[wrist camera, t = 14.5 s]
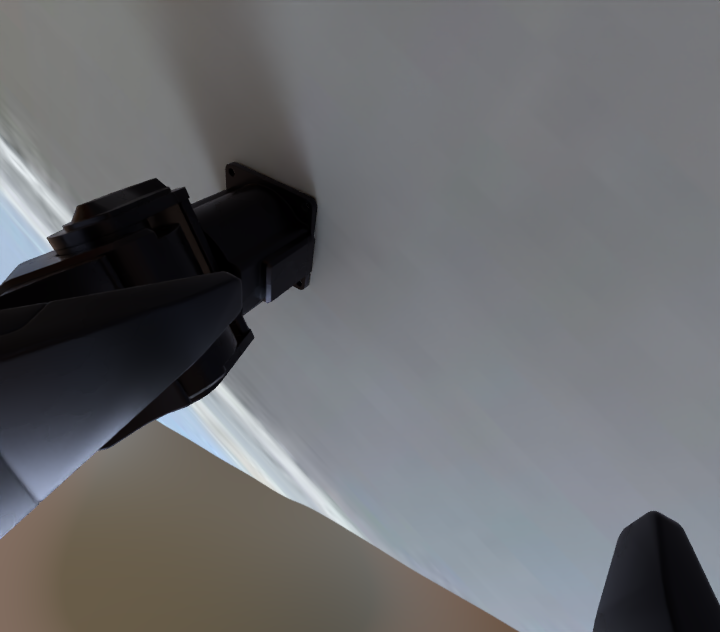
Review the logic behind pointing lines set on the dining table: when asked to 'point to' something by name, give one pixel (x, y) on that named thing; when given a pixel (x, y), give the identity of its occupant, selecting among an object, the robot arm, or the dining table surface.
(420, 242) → the dining table surface
